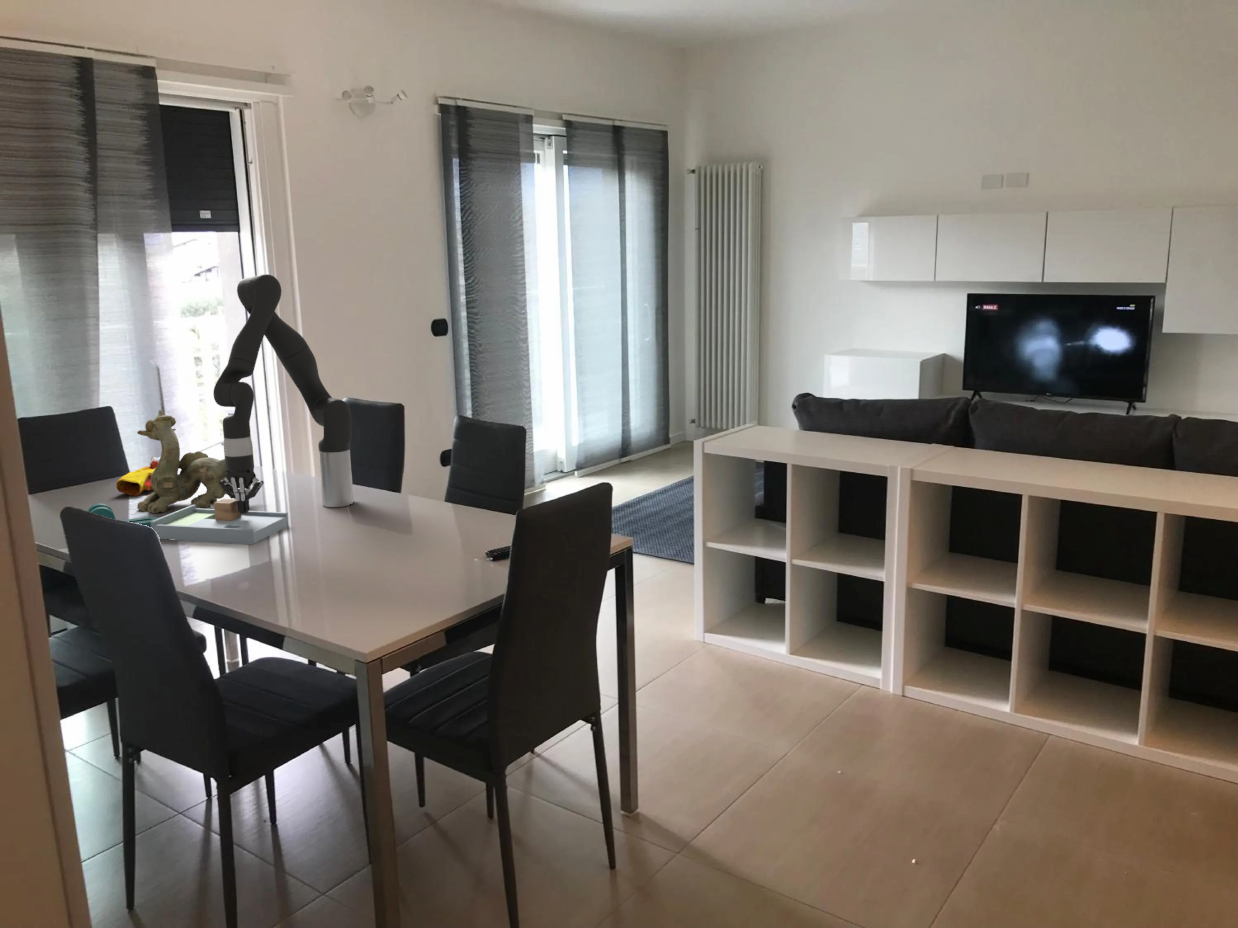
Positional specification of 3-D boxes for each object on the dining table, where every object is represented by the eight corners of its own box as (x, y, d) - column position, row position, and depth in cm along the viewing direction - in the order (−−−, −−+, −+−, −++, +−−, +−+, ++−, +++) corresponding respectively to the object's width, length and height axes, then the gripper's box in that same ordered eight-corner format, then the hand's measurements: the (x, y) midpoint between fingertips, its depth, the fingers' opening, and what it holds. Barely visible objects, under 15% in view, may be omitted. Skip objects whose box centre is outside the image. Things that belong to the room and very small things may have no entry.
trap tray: (194, 521, 290) (192, 504, 289) (288, 526, 284) (287, 509, 283) (152, 539, 271) (150, 521, 270) (252, 544, 266) (250, 526, 265)
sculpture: (213, 487, 330) (220, 401, 321) (255, 517, 314) (264, 428, 305) (123, 499, 308) (128, 407, 299) (163, 531, 292) (170, 435, 283)
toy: (152, 475, 318) (191, 448, 347) (112, 475, 318) (154, 449, 347) (156, 501, 321) (194, 472, 349) (117, 501, 321) (158, 472, 350)
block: (225, 515, 284) (223, 498, 283) (241, 516, 283) (239, 499, 282) (215, 520, 279) (213, 502, 278) (231, 520, 278) (229, 503, 277)
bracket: (89, 537, 274) (86, 510, 272) (88, 532, 280) (84, 505, 278) (160, 528, 283) (157, 501, 281) (157, 523, 289) (155, 496, 287)
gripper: (267, 451, 279) (272, 510, 282) (225, 449, 281) (230, 508, 285) (253, 456, 272) (258, 517, 275) (209, 454, 274) (215, 515, 278)
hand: (243, 512), depth 280 cm, fingers closed
